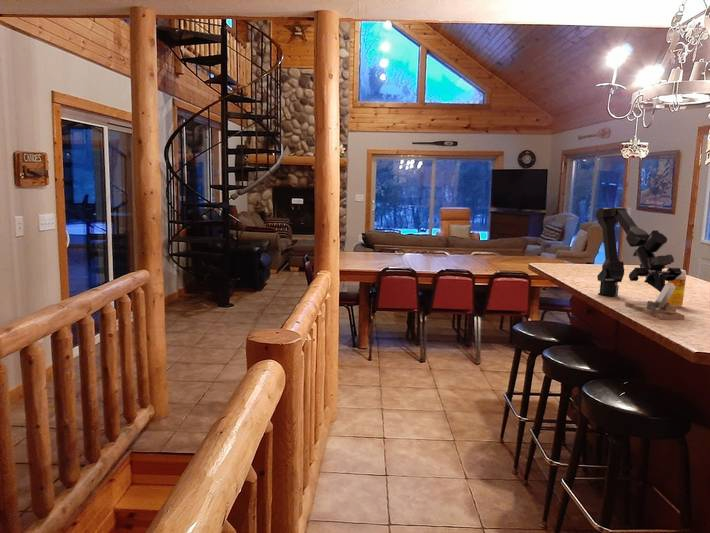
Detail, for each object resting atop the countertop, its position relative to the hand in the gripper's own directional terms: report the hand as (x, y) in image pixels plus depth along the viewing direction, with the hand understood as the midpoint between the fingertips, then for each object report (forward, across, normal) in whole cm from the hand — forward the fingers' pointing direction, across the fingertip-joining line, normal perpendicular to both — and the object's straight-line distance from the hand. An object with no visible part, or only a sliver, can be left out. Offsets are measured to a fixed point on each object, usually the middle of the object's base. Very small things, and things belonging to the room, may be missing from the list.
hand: (663, 292), depth 200 cm
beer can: (-4, +16, +16) cm, 23 cm away
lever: (+3, 0, +6) cm, 6 cm away
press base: (+3, 0, +9) cm, 10 cm away
